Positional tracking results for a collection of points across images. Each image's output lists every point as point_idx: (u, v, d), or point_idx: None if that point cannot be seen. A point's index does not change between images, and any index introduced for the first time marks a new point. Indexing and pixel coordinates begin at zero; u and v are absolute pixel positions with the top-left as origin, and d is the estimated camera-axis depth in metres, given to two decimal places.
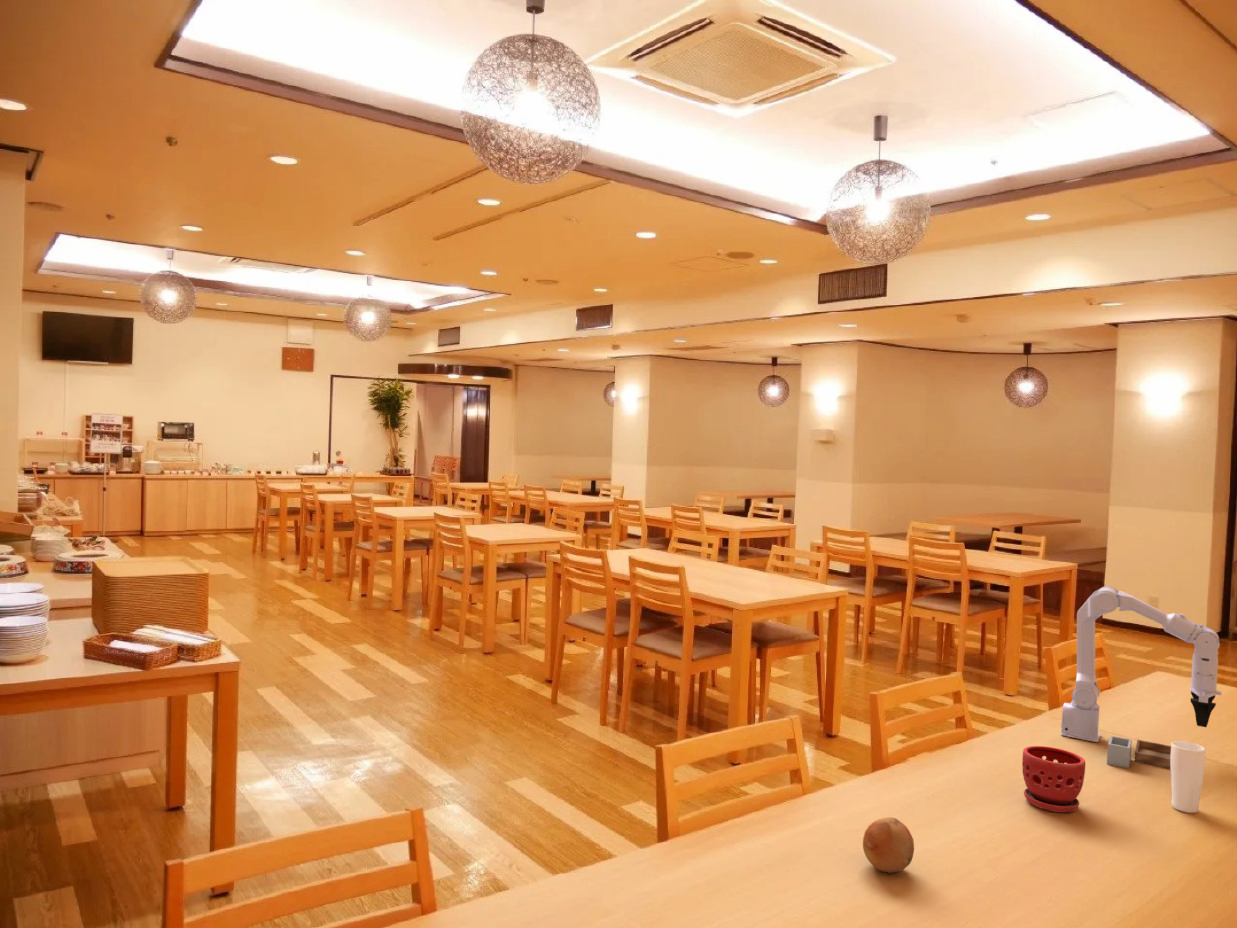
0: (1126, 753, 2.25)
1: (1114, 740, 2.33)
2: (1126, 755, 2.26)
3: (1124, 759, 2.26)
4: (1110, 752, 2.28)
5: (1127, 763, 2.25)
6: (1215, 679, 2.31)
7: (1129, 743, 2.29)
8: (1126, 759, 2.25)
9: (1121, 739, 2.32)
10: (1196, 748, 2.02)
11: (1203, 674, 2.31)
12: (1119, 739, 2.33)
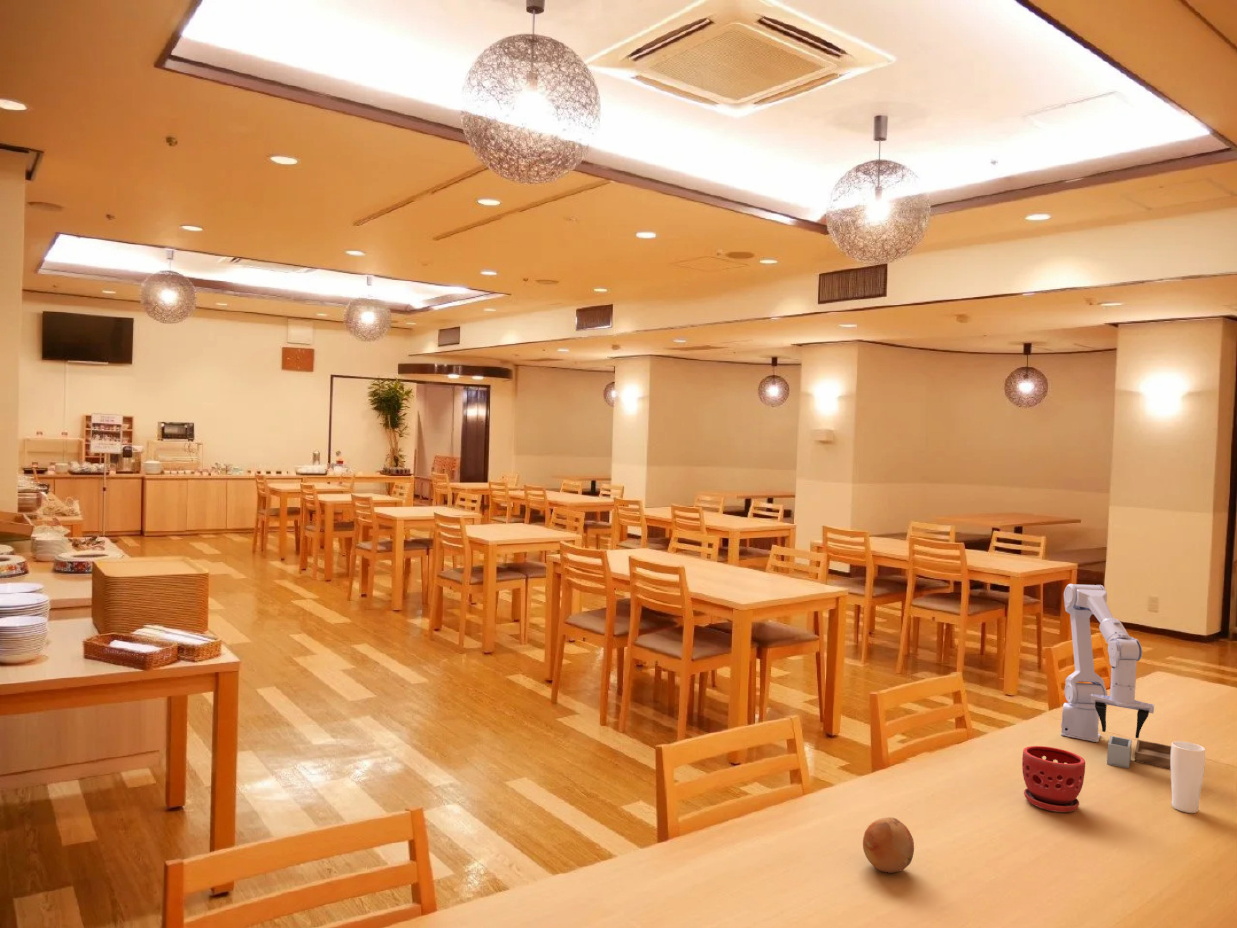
0: (1126, 753, 2.25)
1: (1114, 740, 2.33)
2: (1126, 755, 2.26)
3: (1124, 759, 2.26)
4: (1110, 752, 2.28)
5: (1127, 763, 2.25)
6: (1115, 688, 2.28)
7: (1129, 743, 2.29)
8: (1126, 759, 2.25)
9: (1121, 739, 2.32)
10: (1196, 748, 2.02)
11: None
12: (1119, 739, 2.33)
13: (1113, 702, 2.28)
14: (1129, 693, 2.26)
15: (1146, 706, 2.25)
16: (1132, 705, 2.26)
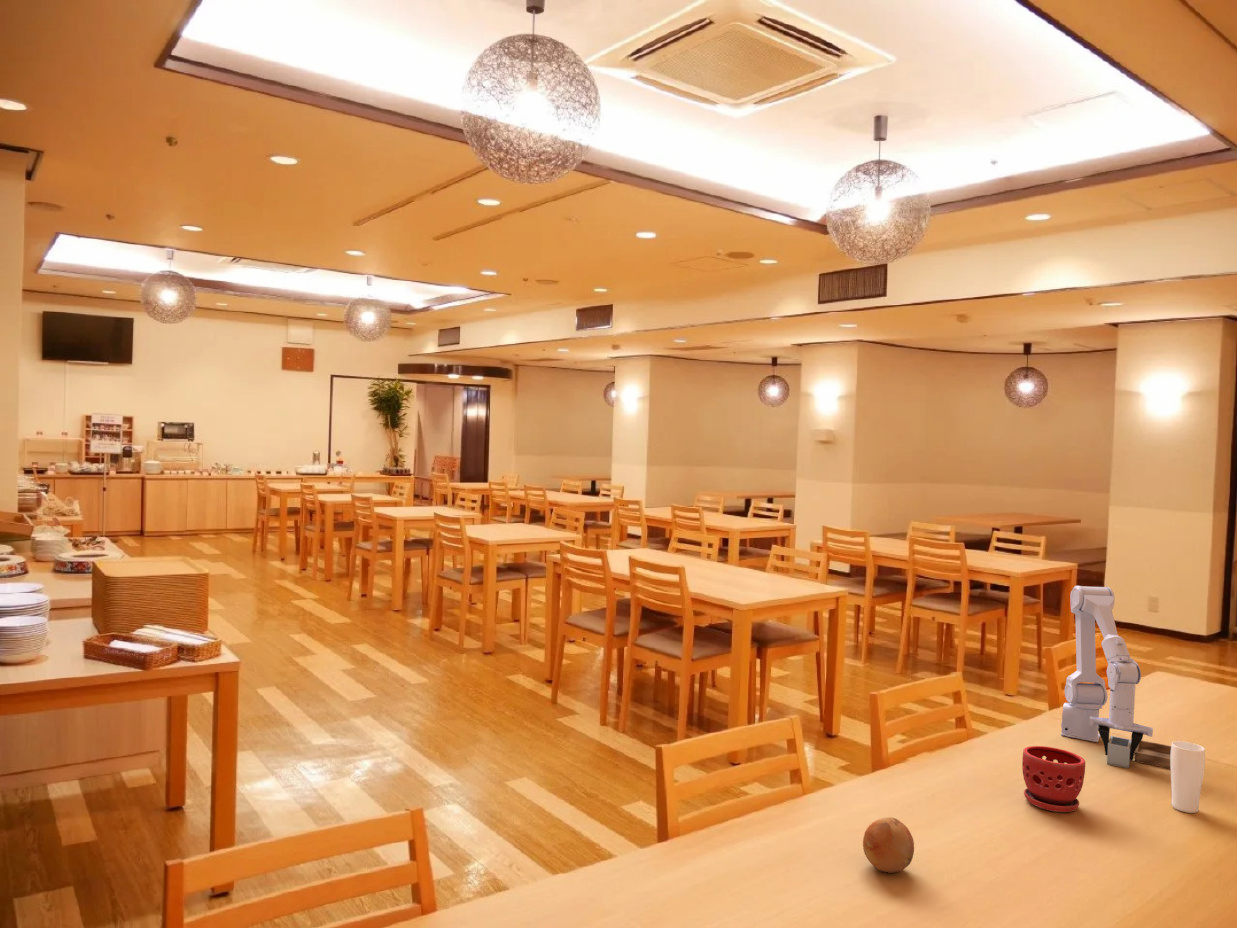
0: (1126, 753, 2.25)
1: (1114, 740, 2.33)
2: (1126, 755, 2.26)
3: (1124, 759, 2.26)
4: (1110, 752, 2.28)
5: (1127, 763, 2.25)
6: (1114, 711, 2.28)
7: (1129, 743, 2.29)
8: (1126, 759, 2.25)
9: (1121, 739, 2.32)
10: (1196, 748, 2.02)
11: None
12: (1119, 739, 2.33)
13: (1112, 725, 2.28)
14: (1128, 716, 2.27)
15: (1145, 729, 2.25)
16: (1131, 728, 2.26)
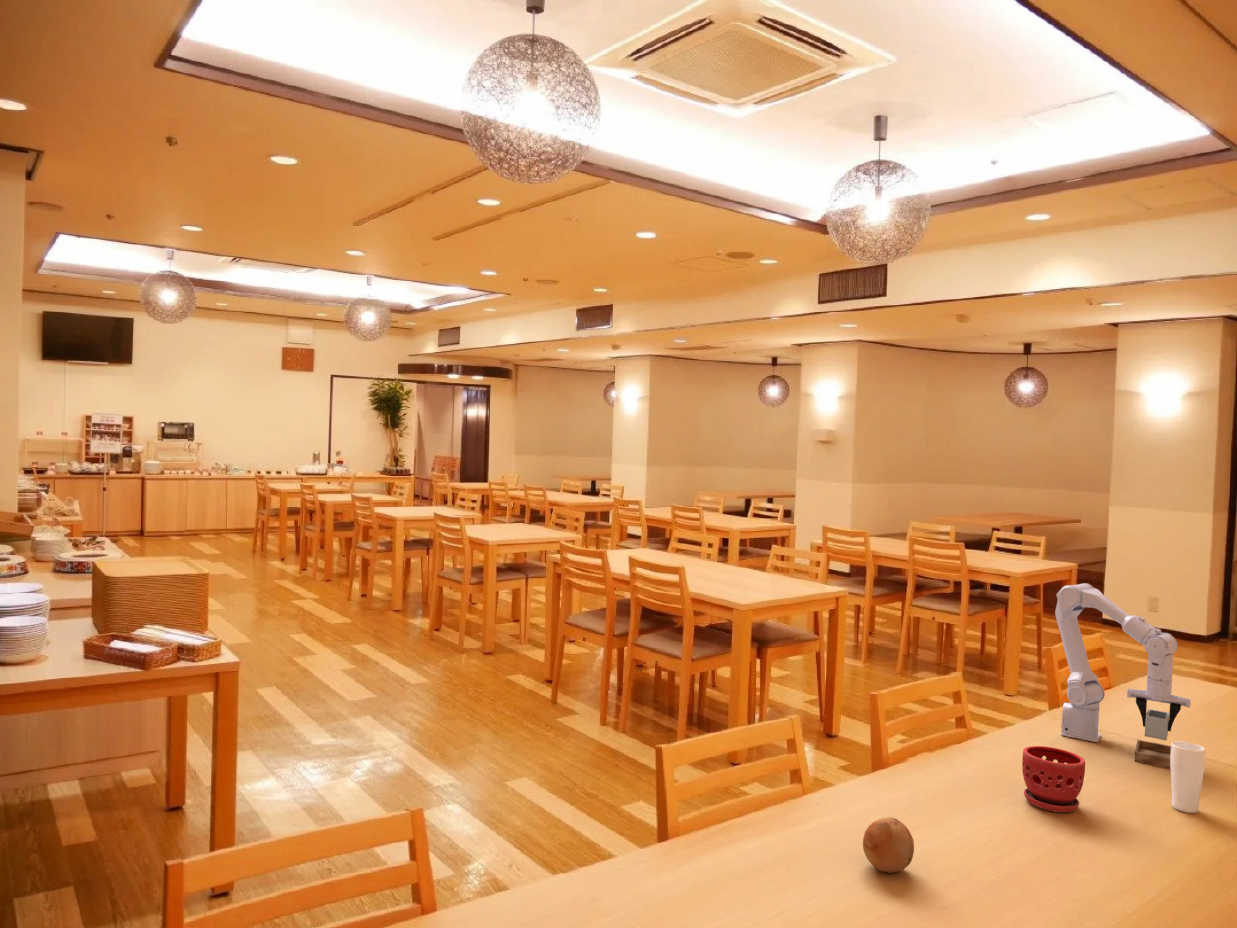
0: (1164, 725, 2.28)
1: (1152, 713, 2.36)
2: (1164, 727, 2.29)
3: (1162, 731, 2.29)
4: (1148, 724, 2.31)
5: (1165, 735, 2.28)
6: (1152, 683, 2.31)
7: (1167, 716, 2.31)
8: (1164, 730, 2.28)
9: (1159, 712, 2.35)
10: (1196, 748, 2.02)
11: (1147, 675, 2.34)
12: (1157, 712, 2.36)
13: (1150, 697, 2.32)
14: (1166, 687, 2.30)
15: (1183, 700, 2.29)
16: (1169, 699, 2.29)
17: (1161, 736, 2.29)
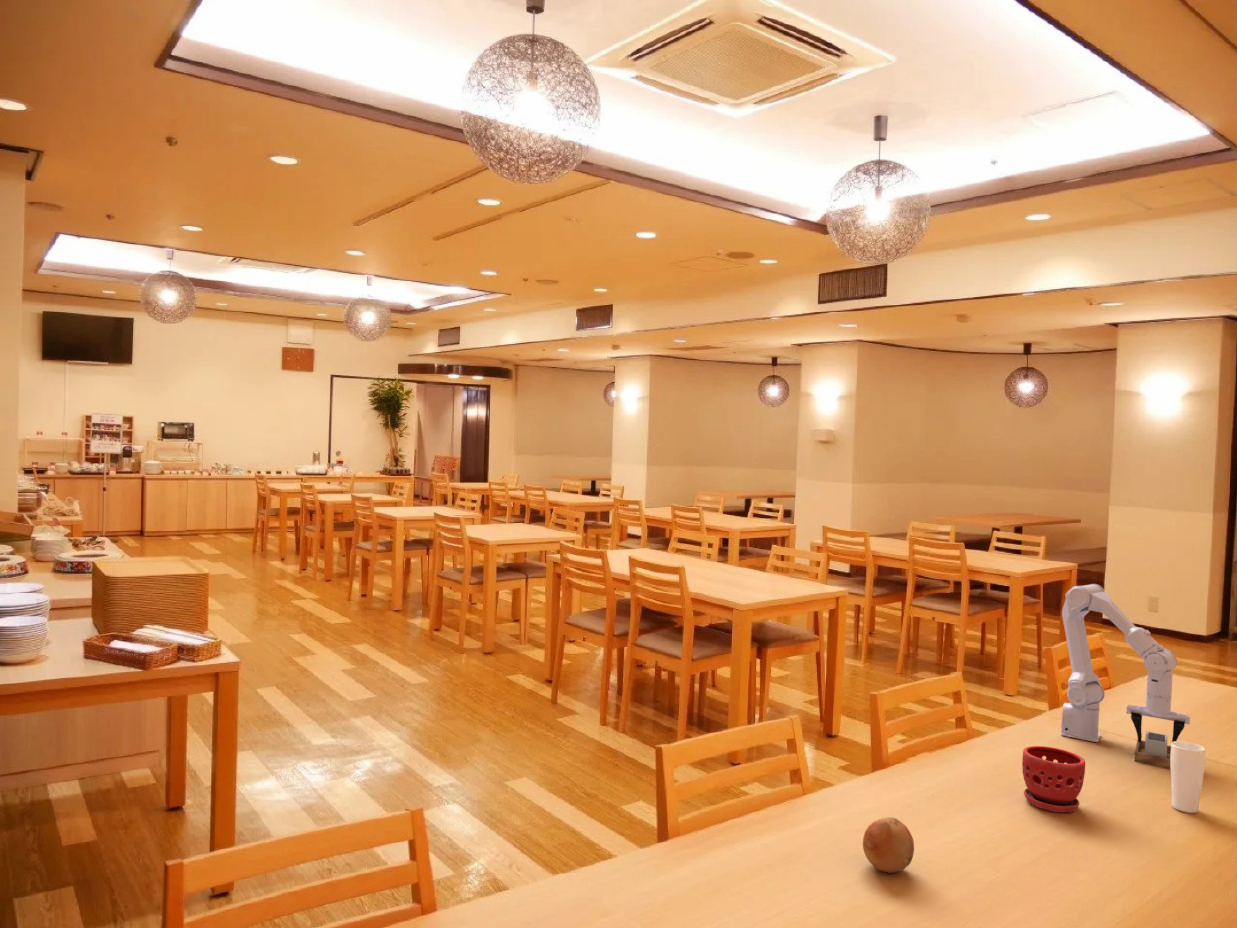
0: (1163, 748, 2.29)
1: (1150, 735, 2.37)
2: (1164, 750, 2.29)
3: (1162, 754, 2.29)
4: (1147, 747, 2.31)
5: None
6: (1152, 699, 2.32)
7: (1166, 738, 2.32)
8: (1164, 754, 2.29)
9: (1157, 734, 2.36)
10: (1196, 748, 2.02)
11: None
12: (1155, 734, 2.36)
13: (1149, 713, 2.32)
14: (1165, 704, 2.30)
15: (1182, 717, 2.29)
16: (1168, 716, 2.30)
17: None
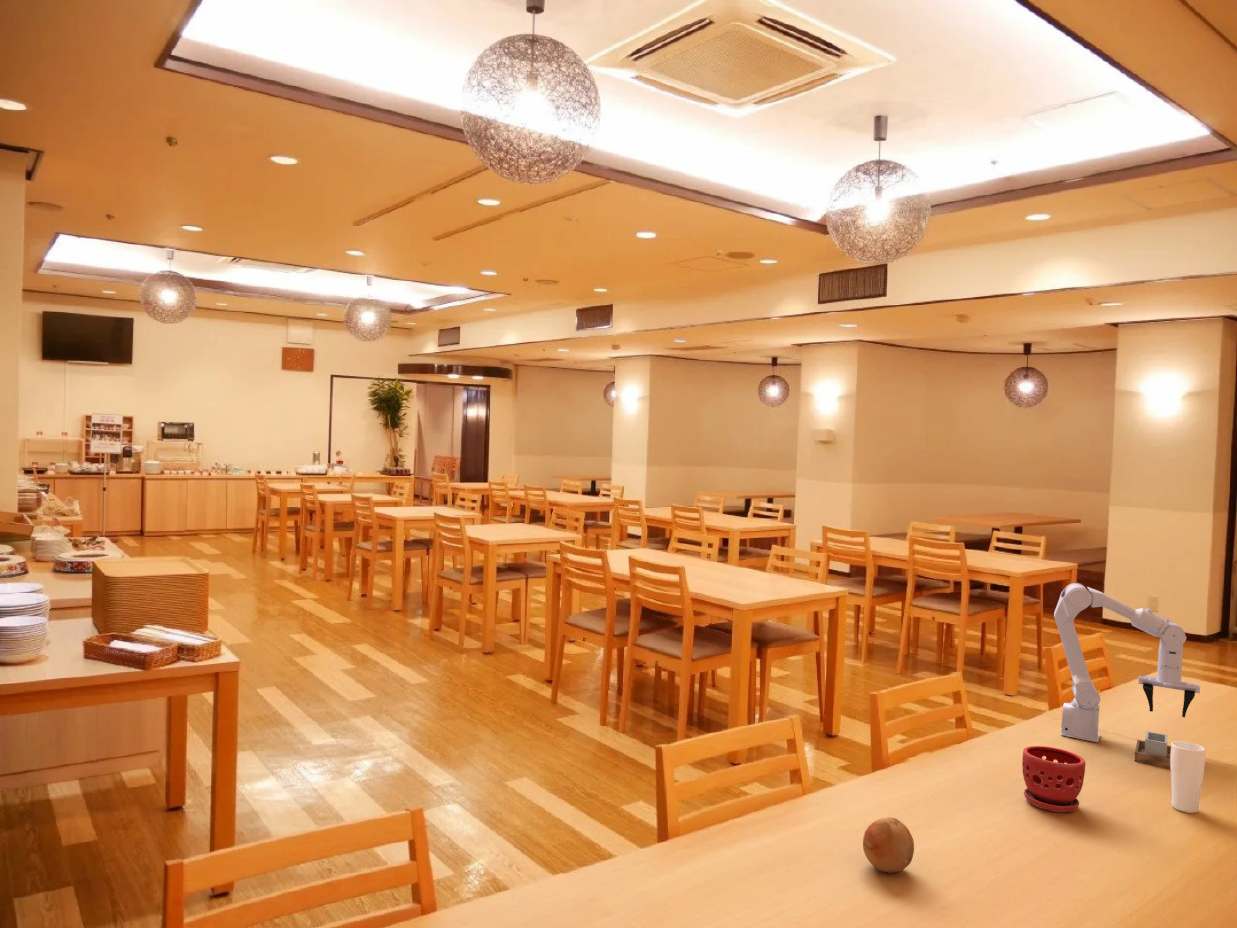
0: (1163, 748, 2.29)
1: (1150, 735, 2.37)
2: (1164, 750, 2.29)
3: (1162, 754, 2.29)
4: (1147, 747, 2.31)
5: None
6: (1163, 670, 2.40)
7: (1166, 738, 2.32)
8: (1164, 754, 2.29)
9: (1157, 734, 2.36)
10: (1196, 748, 2.02)
11: (1158, 663, 2.43)
12: (1155, 734, 2.36)
13: (1161, 683, 2.40)
14: (1176, 674, 2.38)
15: (1192, 687, 2.37)
16: (1179, 686, 2.38)
17: None
